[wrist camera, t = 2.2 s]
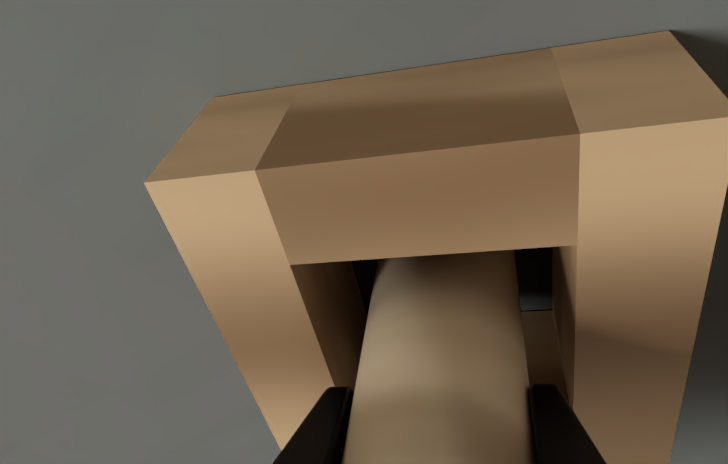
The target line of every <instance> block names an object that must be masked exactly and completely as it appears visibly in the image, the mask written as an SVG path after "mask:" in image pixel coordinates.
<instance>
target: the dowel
mask: <svg viewBox="0 0 728 464" xmlns="http://www.w3.org/2000/svg"><path fill="white" fill-rule="evenodd" d="M528 388H529V379H528V370H527V361H526V352H525V343H524V334H523V325H522V316H521V307H520V298H519V290H518V281H517V272H516V263H515V254H514V249H513V250H499V251H484V252H470V253H455V254H441V255H426V256H412V257H397V258H383V259H378V262H377V268H376V273H375V279H374V284H373V290H372V295H371V301H370V307H369V312H368V318H367V323H366V329H365V335H364V340H363V346H362V351H361V357H360V362H359V368H358V374H357V379H356V385H355V390H354V396H353V401H352V407H351V413H350V418H349V424H348V429H347V435H346V441H345V446H344V452H343V457H342V463H341V464H536V455H535V446H534V437H533V428H532V419H531V410H530V401H529V392H528Z"/></svg>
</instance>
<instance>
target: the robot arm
mask: <svg viewBox="0 0 728 464" xmlns="http://www.w3.org/2000/svg"><path fill="white" fill-rule="evenodd" d="M528 392H529V401H530V410H531V419H532V428H533V437H534V446H535V455H536V464H607V463H606V462H605V460H604V459H603V457H602V456H601V454H600V452H599V451H598V449H597V448H596V446H595V444H594V443H593V441H592V440H591V438H590V437H589V435H588V433H587V432H586V430H585V429H584V427H583V425H582V424H581V422H580V421H579V419H578V417H577V416H576V414H575V413H574V411H573V410H572V408H571V406H570V405H569V403H568V402H567V400H566V398H565V397H564V395H563V394H562V392H561V390H560V389H559V388H558V387H557V386H556V385H555V384H553V383H539V384H531V385H529V388H528ZM353 396H354V391H353V389H352V388H351V387H348V386H343V387H329V388H327V389H326V390H325V391H324V392H323V394H322V395H321V397H320V398H319V399H318V401H317V402H316V404H315V405H314V406H313V408H312V409H311V411H310V412H309V413H308V415H307V416H306V418H305V419H304V420H303V422H302V423H301V425H300V426H299V427H298V429H297V430H296V432H295V433H294V434H293V436H292V437H291V438H290V440H289V441H288V443H287V444H286V445H285V447H284V448H283V450H282V451H281V452H280V454H279V455H278V457H277V458H276V459H275V461H274V462H273V464H341V463H342V457H343V452H344V446H345V441H346V435H347V429H348V424H349V418H350V413H351V407H352V401H353Z"/></svg>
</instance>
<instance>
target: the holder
mask: <svg viewBox="0 0 728 464" xmlns="http://www.w3.org/2000/svg"><path fill="white" fill-rule="evenodd" d="M144 184H145V186H146V188H147V190H148V192H149V194H150V196H151V198H152V200H153V202H154V203H155V205H156V207H157V209H158V211H159V213H160V215H161V217H162V219H163V221H164V223H165V225H166V227H167V229H168V231H169V233H170V235H171V237H172V239H173V240H174V242H175V244H176V246H177V248H178V250H179V252H180V254H181V256H182V258H183V260H184V262H185V264H186V266H187V268H188V270H189V272H190V274H191V275H192V277H193V279H194V281H195V283H196V285H197V287H198V289H199V291H200V293H201V295H202V297H203V299H204V301H205V303H206V305H207V307H208V309H209V311H210V312H211V314H212V316H213V318H214V320H215V322H216V324H217V326H218V328H219V330H220V332H221V334H222V336H223V338H224V340H225V342H226V344H227V346H228V347H229V349H230V351H231V353H232V355H233V357H234V359H235V361H236V363H237V365H238V367H239V369H240V371H241V373H242V375H243V377H244V379H245V381H246V383H247V384H248V386H249V388H250V390H251V392H252V394H253V396H254V398H255V400H256V402H257V404H258V406H259V408H260V410H261V412H262V414H263V416H264V418H265V419H266V421H267V423H268V425H269V427H270V429H271V431H272V433H273V435H274V437H275V439H276V441H277V443H278V445H279V447H280V449H281V451H282V450H283V448H284V447H285V445H286V444H287V443H288V441H289V440H290V438H291V437H292V436H293V434H294V433H295V432H296V430H297V429H298V427H299V426H300V425H301V423H302V422H303V420H304V419H305V418H306V416H307V415H308V413H309V412H310V411H311V409H312V408H313V406H314V405H315V404H316V402H317V401H318V399H319V398H320V397H321V395H322V394H323V392H324V391H325V390H326V389H327V388H329V387H343V386H348V387H351V388H352V389H353V391H354V390H355V385H356V379H357V374H358V368H359V362H360V357H361V351H362V346H363V340H364V335H365V329H366V323H367V314H366V311H365V307H364V304H363V300H362V297H361V293H360V290H359V286H358V283H357V279H356V276H355V272H354V269H353V265H352V262H351V261H354V260H369V259H383V258H397V257H412V256H426V255H441V254H455V253H470V252H484V251H499V250H513V249H527V248H542V247H552V274H553V310H550V311H528V312H521V316H522V325H523V334H524V343H525V352H526V361H527V370H528V379H529V385H531V384H539V383H553V384H555V385H556V386H557V387H558V388H559V389H560V390H561V392H562V394H563V395H564V397H565V398H566V400H567V402H568V403H569V405H570V406H571V408H572V410H573V411H574V413H575V414H576V416H577V417H578V419H579V421H580V422H581V424H582V425H583V427H584V429H585V430H586V432H587V433H588V435H589V437H590V438H591V440H592V441H593V443H594V444H595V446H596V448H597V449H598V451H599V452H600V454H601V456H602V457H603V459H604V460H605V462H606V463H607V464H669V461H670V457H671V452H672V447H673V442H674V438H675V433H676V428H677V423H678V419H679V414H680V409H681V404H682V400H683V395H684V390H685V385H686V380H687V376H688V371H689V366H690V361H691V357H692V352H693V347H694V342H695V338H696V333H697V328H698V323H699V319H700V314H701V309H702V304H703V300H704V295H705V290H706V285H707V281H708V276H709V271H710V266H711V262H712V257H713V252H714V247H715V243H716V238H717V233H718V228H719V223H720V219H721V214H722V209H723V204H724V200H725V195H726V190H727V185H728V99H727V97H726V96H725V95H724V94H723V93H722V92H721V90H720V89H719V88H718V87H717V86H716V85H715V84H714V82H713V81H712V80H711V79H710V78H709V77H708V75H707V74H706V73H705V72H704V71H703V70H702V68H701V67H700V66H699V65H698V64H697V63H696V61H695V60H694V59H693V58H692V57H691V56H690V54H689V53H688V52H687V51H686V50H685V49H684V48H683V46H682V45H681V44H680V43H679V42H678V41H677V39H676V38H675V37H674V36H673V35H672V34H671V32H670V31H662V32H656V33H649V34H642V35H635V36H628V37H622V38H615V39H608V40H601V41H594V42H588V43H581V44H574V45H567V46H560V47H554V48H547V49H540V50H533V51H526V52H520V53H513V54H506V55H499V56H492V57H485V58H479V59H472V60H465V61H458V62H451V63H445V64H438V65H431V66H424V67H417V68H411V69H404V70H397V71H390V72H383V73H377V74H370V75H363V76H356V77H349V78H343V79H336V80H329V81H322V82H315V83H308V84H302V85H295V86H288V87H281V88H274V89H268V90H261V91H254V92H247V93H240V94H234V95H227V96H220V97H213V98H212V99H211V100H210V101H209V103H208V104H207V105H206V106H205V108H204V109H203V110H202V111H201V113H200V114H199V115H198V116H197V117H196V119H195V120H194V121H193V122H192V124H191V125H190V126H189V127H188V129H187V130H186V131H185V132H184V134H183V135H182V136H181V137H180V139H179V140H178V141H177V142H176V143H175V145H174V146H173V147H172V148H171V150H170V151H169V152H168V153H167V155H166V156H165V157H164V158H163V160H162V161H161V162H160V163H159V165H158V166H157V167H156V168H155V169H154V171H153V172H152V173H151V174H150V176H149V177H148V178H147V179H146V181H145V182H144Z"/></svg>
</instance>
